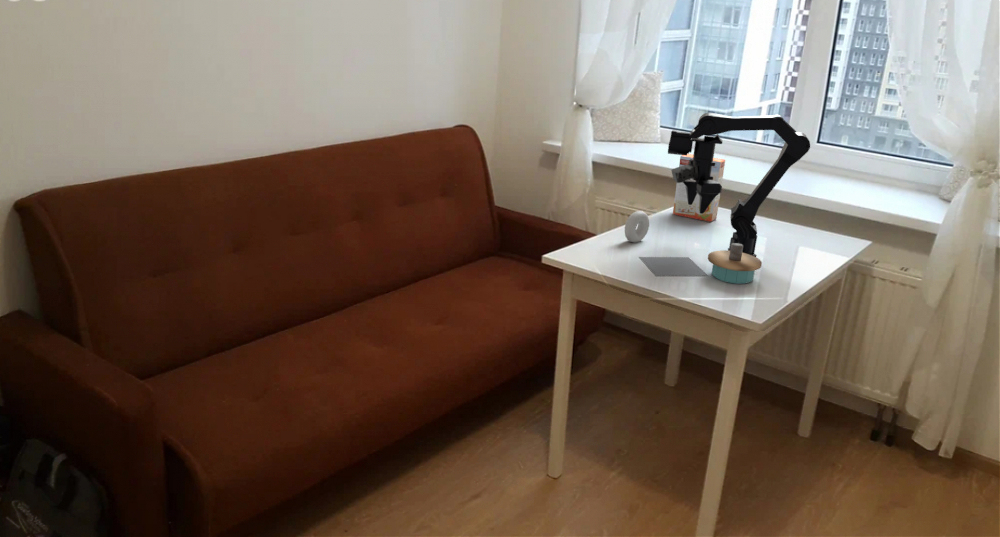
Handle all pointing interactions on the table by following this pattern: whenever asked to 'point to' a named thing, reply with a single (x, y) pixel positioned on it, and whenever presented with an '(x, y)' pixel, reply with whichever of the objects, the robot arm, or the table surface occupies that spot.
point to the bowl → (732, 275)
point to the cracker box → (681, 196)
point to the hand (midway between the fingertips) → (695, 208)
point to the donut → (631, 224)
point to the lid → (735, 259)
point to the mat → (672, 266)
